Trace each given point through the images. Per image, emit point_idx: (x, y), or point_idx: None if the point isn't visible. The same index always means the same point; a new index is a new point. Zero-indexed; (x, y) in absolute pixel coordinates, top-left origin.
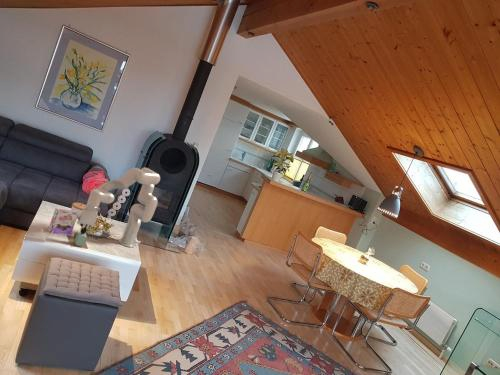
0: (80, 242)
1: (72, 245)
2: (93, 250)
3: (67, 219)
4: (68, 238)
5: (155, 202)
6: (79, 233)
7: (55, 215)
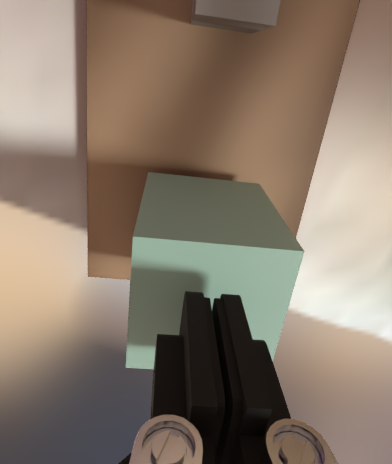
0: None
1: (112, 250)
2: (336, 291)
3: None
4: (96, 24)
5: None
6: (162, 281)
7: None
